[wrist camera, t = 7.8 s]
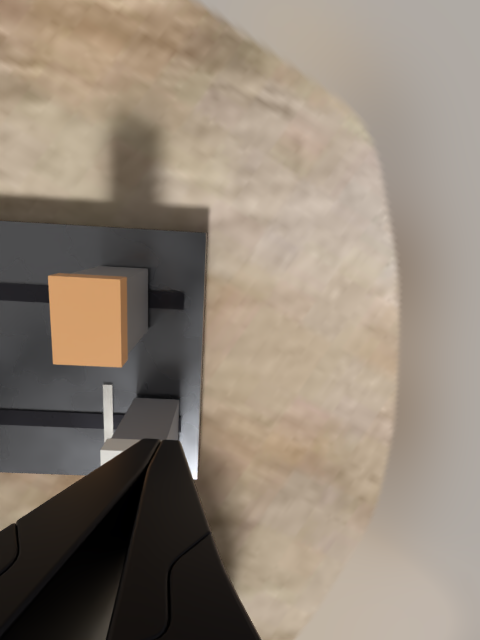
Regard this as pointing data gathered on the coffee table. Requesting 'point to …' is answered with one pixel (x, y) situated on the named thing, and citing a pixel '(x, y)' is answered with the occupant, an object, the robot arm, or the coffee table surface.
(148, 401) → the fader
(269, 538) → the coffee table surface
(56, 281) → the fader
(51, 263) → the board
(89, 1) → the coffee table surface
